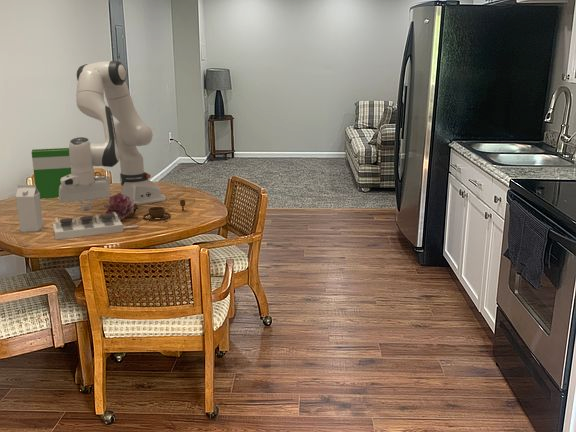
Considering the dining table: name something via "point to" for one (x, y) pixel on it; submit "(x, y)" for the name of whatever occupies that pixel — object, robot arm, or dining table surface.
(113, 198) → the flower
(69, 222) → the rocker far end
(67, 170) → the hardback book
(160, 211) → the place setting
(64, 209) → the dining table surface
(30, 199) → the milk carton
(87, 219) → the rocker middle
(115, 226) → the power strip
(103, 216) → the rocker near arm
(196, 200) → the dining table surface
